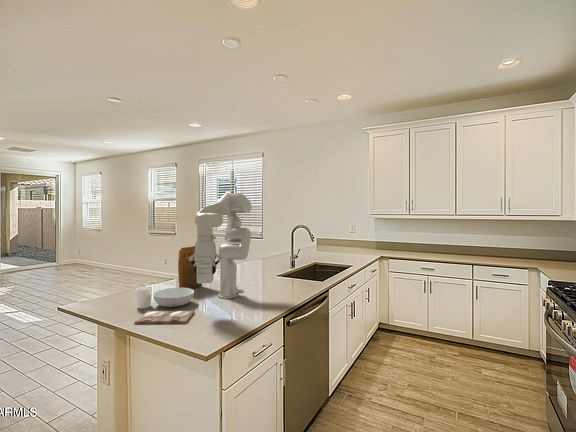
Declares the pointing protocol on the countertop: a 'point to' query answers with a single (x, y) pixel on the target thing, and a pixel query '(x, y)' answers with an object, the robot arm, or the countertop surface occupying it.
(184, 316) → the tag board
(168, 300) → the serving bowl
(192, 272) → the pancake mix bag
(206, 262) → the supplement box
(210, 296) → the countertop surface
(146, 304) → the white cup
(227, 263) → the robot arm
